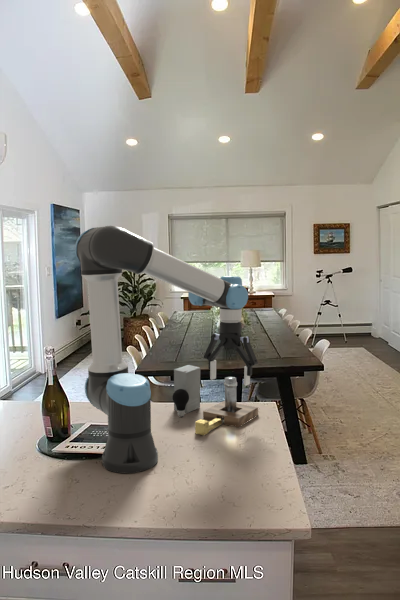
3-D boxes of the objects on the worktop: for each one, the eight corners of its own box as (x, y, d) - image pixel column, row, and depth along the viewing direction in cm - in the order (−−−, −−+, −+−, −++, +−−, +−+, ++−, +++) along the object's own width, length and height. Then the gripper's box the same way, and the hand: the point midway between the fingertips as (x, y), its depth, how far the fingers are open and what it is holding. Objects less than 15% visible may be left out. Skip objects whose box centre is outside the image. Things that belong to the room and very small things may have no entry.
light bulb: (179, 413, 171) (179, 386, 171) (192, 416, 168) (192, 388, 167) (169, 417, 167) (168, 389, 166) (182, 421, 163) (182, 392, 162)
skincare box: (187, 404, 181) (187, 364, 180) (202, 408, 177) (201, 366, 175) (172, 410, 175) (171, 368, 173) (187, 414, 170) (186, 371, 169)
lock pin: (203, 435, 149) (203, 423, 149) (195, 433, 151) (195, 421, 151) (223, 424, 159) (223, 413, 159) (215, 422, 161) (215, 411, 161)
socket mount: (238, 427, 157) (238, 418, 156) (203, 419, 164) (203, 411, 164) (258, 415, 168) (258, 407, 168) (224, 408, 176) (224, 400, 176)
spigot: (233, 420, 163) (232, 380, 162) (221, 418, 166) (221, 378, 164) (239, 416, 167) (239, 377, 166) (228, 414, 170) (228, 376, 168)
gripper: (268, 322, 159) (267, 385, 161) (206, 317, 173) (205, 374, 175) (258, 325, 153) (256, 389, 155) (194, 319, 167) (193, 378, 169)
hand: (229, 382), depth 165 cm, fingers open, 13 cm apart
